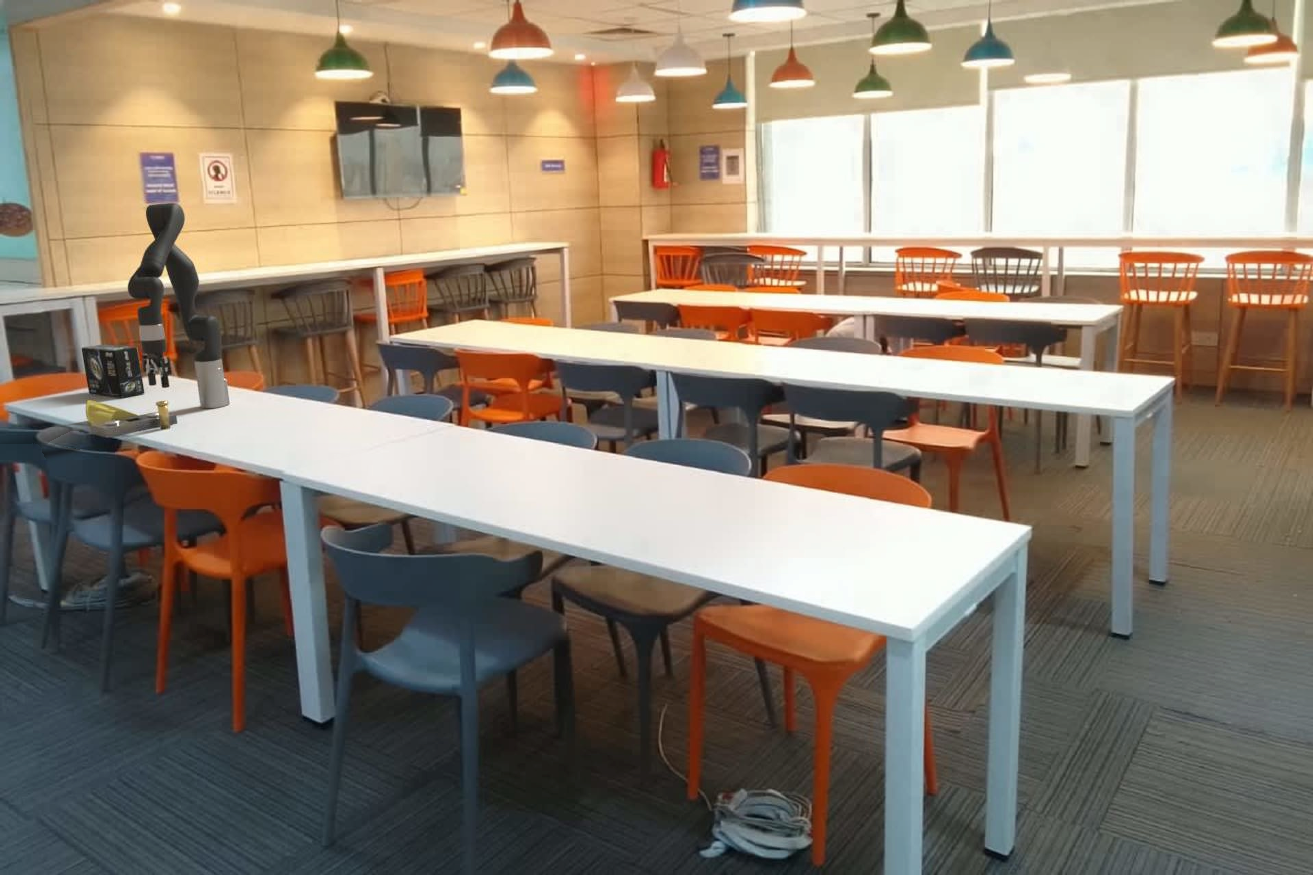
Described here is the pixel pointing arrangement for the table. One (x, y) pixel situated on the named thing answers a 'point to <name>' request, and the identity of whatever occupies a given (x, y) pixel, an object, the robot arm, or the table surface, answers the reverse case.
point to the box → (113, 370)
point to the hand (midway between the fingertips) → (159, 386)
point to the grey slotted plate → (129, 425)
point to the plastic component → (104, 412)
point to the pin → (163, 414)
